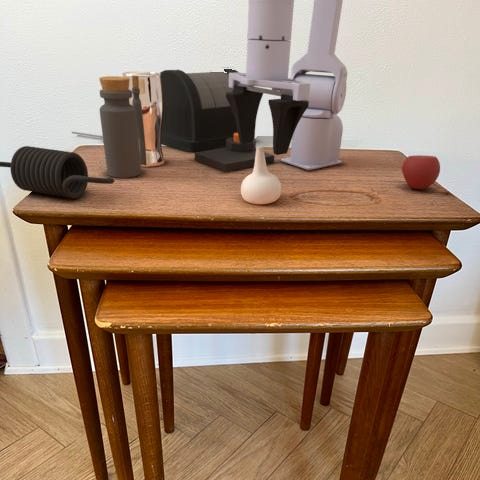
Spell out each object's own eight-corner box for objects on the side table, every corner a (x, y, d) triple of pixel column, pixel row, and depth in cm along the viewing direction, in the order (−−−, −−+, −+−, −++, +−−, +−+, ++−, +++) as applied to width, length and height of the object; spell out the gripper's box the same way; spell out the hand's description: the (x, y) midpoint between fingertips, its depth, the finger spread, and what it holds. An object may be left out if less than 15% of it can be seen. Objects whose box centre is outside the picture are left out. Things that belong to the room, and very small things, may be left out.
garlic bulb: (288, 201, 71) (293, 148, 67) (258, 209, 68) (261, 153, 63) (262, 190, 75) (265, 139, 71) (232, 197, 72) (233, 144, 68)
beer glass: (141, 169, 83) (133, 76, 75) (123, 161, 88) (113, 72, 79) (173, 164, 87) (169, 74, 79) (154, 156, 91) (149, 70, 83)
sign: (79, 128, 107) (133, 136, 102) (80, 132, 107) (134, 140, 102) (63, 132, 103) (119, 140, 98) (64, 136, 103) (120, 145, 98)
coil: (127, 189, 71) (95, 236, 70) (32, 134, 75) (1, 178, 75) (106, 165, 64) (71, 217, 63) (3, 107, 68) (-31, 155, 68)
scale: (242, 150, 97) (243, 135, 96) (276, 162, 91) (278, 146, 89) (192, 159, 91) (192, 143, 89) (225, 172, 84) (225, 155, 82)
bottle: (108, 178, 78) (95, 79, 70) (106, 169, 83) (95, 75, 74) (142, 177, 79) (134, 80, 71) (139, 168, 84) (131, 75, 76)
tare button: (241, 139, 94) (242, 131, 93) (251, 142, 92) (251, 134, 92) (230, 141, 93) (230, 133, 92) (239, 144, 91) (240, 136, 90)
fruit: (395, 193, 78) (446, 196, 74) (400, 157, 75) (453, 159, 72) (401, 188, 82) (449, 191, 79) (406, 154, 80) (455, 156, 77)
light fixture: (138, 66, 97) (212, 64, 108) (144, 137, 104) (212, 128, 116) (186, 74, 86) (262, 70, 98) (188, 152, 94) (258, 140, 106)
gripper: (211, 36, 63) (211, 141, 70) (284, 43, 53) (276, 162, 61) (251, 37, 66) (247, 136, 74) (326, 43, 57) (313, 156, 64)
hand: (262, 148), depth 67 cm, fingers open, 7 cm apart
